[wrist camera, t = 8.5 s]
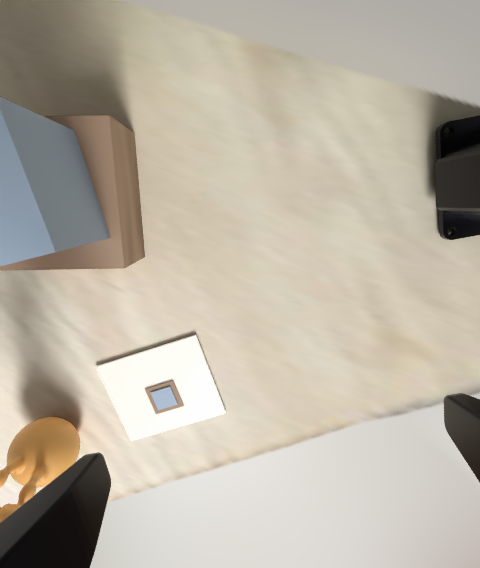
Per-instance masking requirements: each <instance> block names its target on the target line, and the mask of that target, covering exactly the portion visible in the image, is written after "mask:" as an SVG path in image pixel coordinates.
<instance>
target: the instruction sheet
mask: <svg viewBox="0 0 480 568" xmlns="http://www.w3.org/2000/svg"><path fill="white" fill-rule="evenodd" d="M95 368H96V370H97V372H98V374H99V376H100V378H101V380H102V382H103V384H104V386H105V388H106V390H107V393H108V395H109V397H110V399H111V401H112V403H113V405H114V407H115V409H116V411H117V413H118V415H119V418H120V420H121V422H122V424H123V426H124V428H125V430H126V432H127V434H128V436H129V438H130V440H131V441H134V440H138V439H141V438H145V437H148V436H151V435H155V434H158V433H161V432H165V431H168V430H171V429H175V428H178V427H182V426H185V425H188V424H192V423H195V422H198V421H202V420H205V419H208V418H212V417H215V416H218V415H222V414H225V413H226V410H225V407H224V405H223V402H222V400H221V397H220V394H219V392H218V389H217V387H216V384H215V382H214V379H213V376H212V374H211V371H210V369H209V366H208V364H207V361H206V358H205V356H204V353H203V351H202V348H201V346H200V343H199V340H198V338H197V335H196V334H195V335H192V336H189V337H186V338H183V339H179V340H176V341H173V342H170V343H167V344H164V345H160V346H157V347H154V348H151V349H148V350H145V351H141V352H138V353H135V354H132V355H129V356H126V357H122V358H119V359H116V360H113V361H110V362H107V363H104V364H100V365H97V366H96V367H95Z"/></svg>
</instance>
